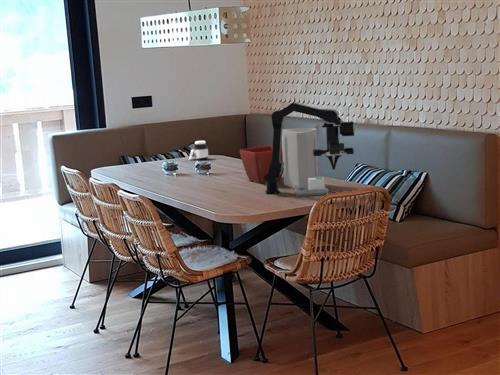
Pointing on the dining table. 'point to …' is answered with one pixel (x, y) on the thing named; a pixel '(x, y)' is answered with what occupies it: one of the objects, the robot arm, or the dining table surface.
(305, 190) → the grey folded cloth
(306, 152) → the paper bag
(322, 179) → the module
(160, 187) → the dining table surface
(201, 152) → the spread jar
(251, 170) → the plant pot
